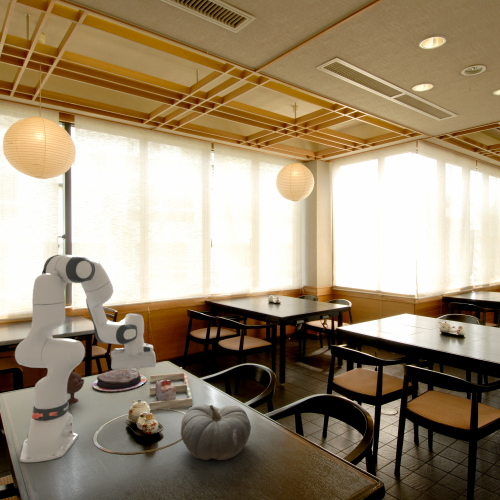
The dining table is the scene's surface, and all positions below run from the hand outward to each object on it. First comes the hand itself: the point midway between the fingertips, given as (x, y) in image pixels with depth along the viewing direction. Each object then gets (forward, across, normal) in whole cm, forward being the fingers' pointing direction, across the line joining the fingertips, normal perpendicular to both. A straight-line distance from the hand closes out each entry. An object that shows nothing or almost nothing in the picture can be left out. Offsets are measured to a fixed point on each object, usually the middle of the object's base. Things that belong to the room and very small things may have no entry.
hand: (133, 377), depth 183 cm
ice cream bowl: (+13, -29, +11) cm, 33 cm away
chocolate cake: (+12, -9, +32) cm, 36 cm away
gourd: (+14, +32, -50) cm, 61 cm away
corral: (+12, +17, +11) cm, 23 cm away
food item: (+13, +14, 0) cm, 19 cm away
